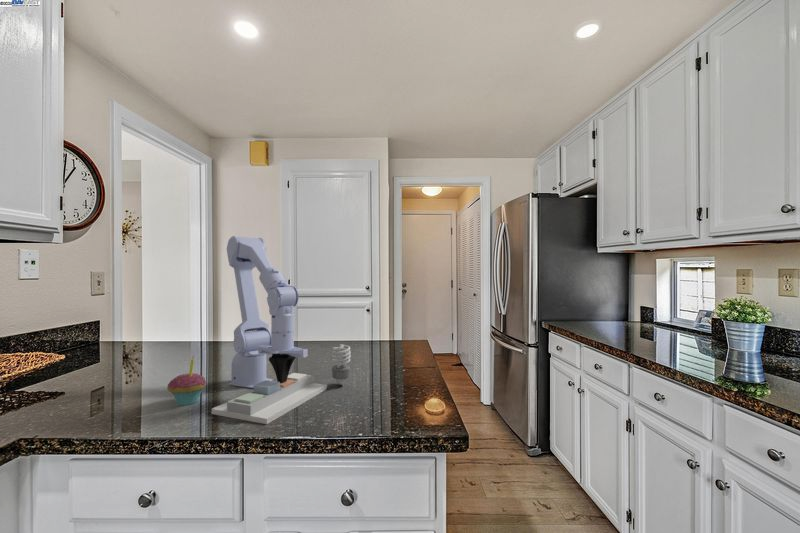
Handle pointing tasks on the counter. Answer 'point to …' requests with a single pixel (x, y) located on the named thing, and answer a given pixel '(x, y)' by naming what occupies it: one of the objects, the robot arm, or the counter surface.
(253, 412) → the keypad
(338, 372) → the light bulb
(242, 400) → the key sage
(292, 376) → the key ivory
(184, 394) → the cupcake
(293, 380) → the key terracotta
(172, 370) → the counter surface
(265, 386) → the key slate
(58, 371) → the counter surface
